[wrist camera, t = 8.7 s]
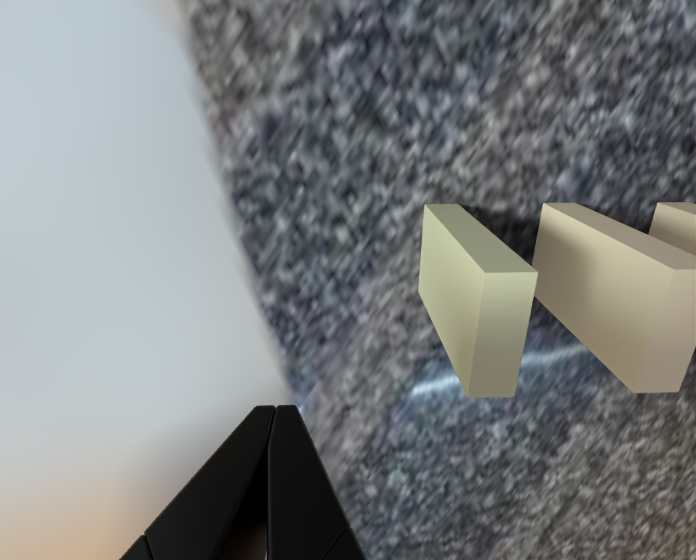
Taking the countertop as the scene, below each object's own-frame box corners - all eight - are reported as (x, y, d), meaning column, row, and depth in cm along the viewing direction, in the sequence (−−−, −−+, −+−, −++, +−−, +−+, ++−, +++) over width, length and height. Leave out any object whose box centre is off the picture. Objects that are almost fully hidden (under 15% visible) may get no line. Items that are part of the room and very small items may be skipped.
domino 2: (556, 288, 20) (678, 392, 13) (527, 289, 20) (633, 393, 13) (575, 202, 18) (724, 269, 11) (543, 203, 18) (674, 269, 11)
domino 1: (448, 290, 20) (513, 397, 13) (418, 291, 20) (467, 398, 13) (457, 203, 18) (538, 272, 11) (424, 204, 18) (485, 273, 11)
